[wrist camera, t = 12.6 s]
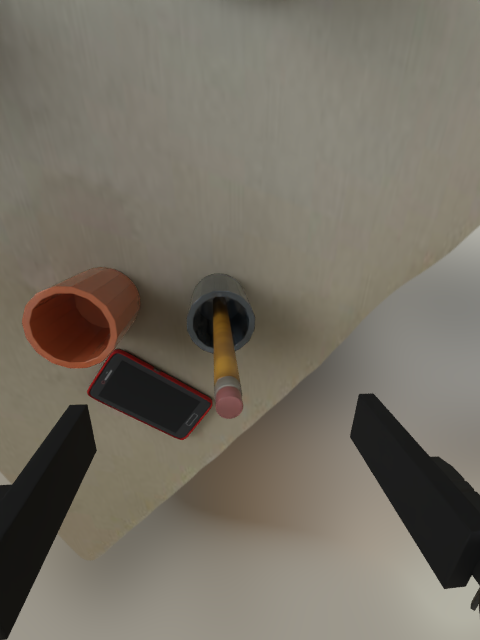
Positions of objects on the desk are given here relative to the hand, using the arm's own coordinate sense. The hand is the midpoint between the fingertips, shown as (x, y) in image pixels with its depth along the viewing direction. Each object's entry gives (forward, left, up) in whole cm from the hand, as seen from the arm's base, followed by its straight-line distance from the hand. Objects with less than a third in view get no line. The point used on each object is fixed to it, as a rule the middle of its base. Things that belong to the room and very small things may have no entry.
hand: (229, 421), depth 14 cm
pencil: (0, 0, -21) cm, 21 cm away
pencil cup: (0, -13, -22) cm, 25 cm away
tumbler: (0, 0, -22) cm, 22 cm away
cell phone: (+13, -9, -22) cm, 27 cm away
